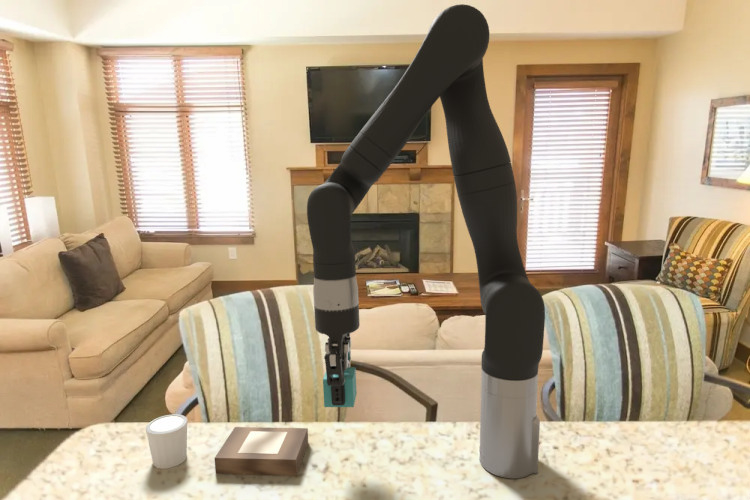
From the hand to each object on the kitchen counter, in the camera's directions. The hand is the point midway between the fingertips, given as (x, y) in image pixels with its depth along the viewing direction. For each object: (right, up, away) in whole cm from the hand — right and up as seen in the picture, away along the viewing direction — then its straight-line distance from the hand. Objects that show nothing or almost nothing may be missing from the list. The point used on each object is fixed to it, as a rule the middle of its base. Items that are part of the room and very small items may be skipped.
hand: (340, 396), depth 84 cm
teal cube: (0, -1, 0) cm, 1 cm away
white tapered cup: (-31, -12, +3) cm, 34 cm away
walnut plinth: (-14, -12, +3) cm, 19 cm away
